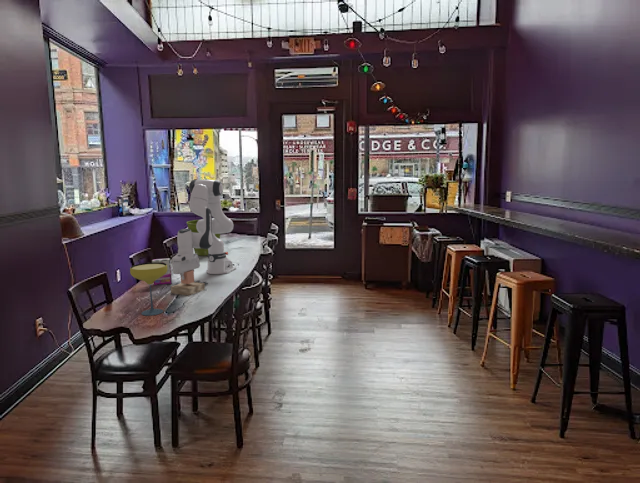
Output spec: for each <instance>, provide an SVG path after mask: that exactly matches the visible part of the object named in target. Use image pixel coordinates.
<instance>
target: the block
mask: <svg viewBox="0 0 640 483" xmlns="http://www.w3.org/2000/svg"><path fill="white" fill-rule="evenodd" d="M183 275H184V276H185V279H184V280H182V278H181V277H180V283H185V284H189V283H192V282H195V270H194V271H193V270H190V271H187V272H184V274H183Z"/></svg>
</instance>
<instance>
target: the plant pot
mask: <svg viewBox="0 0 640 483" xmlns="http://www.w3.org/2000/svg"><path fill="white" fill-rule="evenodd" d="M199 220H200V219H192V220H189V221H188V220H187V221H186V225H187V229H190V230H191V232H193V233H199V232H198V231H197V228H196V224H197V222H198V221H199ZM215 236H216V237H217V238H219V239H221V234H215ZM193 252H194V254H195V253H196V254H197V255H198V257H199V256H201V257H202V256H203V257H204V256H205V257H206V256H207V257H208V249H201V248H193Z"/></svg>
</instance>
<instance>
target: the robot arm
mask: <svg viewBox="0 0 640 483" xmlns="http://www.w3.org/2000/svg"><path fill="white" fill-rule="evenodd" d="M188 190H189V193H190V197H189V202H188V203H189V204H188V206H189V210H190V211H191V212H192V213H193V214H195V216H196V215H197V216H198V217H201V218H202V219H198V220H199V221H198V222H197V224H196V228H197V231H198V232H199V233H193V232H191V230H190V229H188V227H187V228H181V229H179V230H178V231H177V242H176V243H177V247H178V249H177V253H176V254H175V255H174V256H173V257H172V258H171V260H172V265H171V267H172V273H173V274H174V275H179V276H180V279H181V278H182V280H184V279H185V276H184V275H183V274H184V272H187V271H190V270H193V271H194V272H195V270H196V269H199V268H200V266H201V264H200V259H199V255H197V254H196V253H195V252H194V248H201V249H208V256H207V258H208V260H207V266H206V268H207V269H206V272H207V274H208V275H210V274H211V275H221V274H229V273H231V272H232V271H235V270H236V269H237V267H236V266H234V265H233V261H232V260H231V259H229V258H228V257H227V255H229V251H225V243H224V241H223V240H222V239H221V238H220V239H219V238H217V237H216V236H215V234H220V235H222V234H228V233H231V232H232V231H233V230H234V222H233V220H232V219H231V218H229V217H227V215H225V213H224V211H223V209H222V203H221V195H222V194H223V190H224V186H223V183H222V181H221V180H218V179H208V178H207V179H192V180H190V182H189V185H188Z"/></svg>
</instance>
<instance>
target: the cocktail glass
mask: <svg viewBox="0 0 640 483" xmlns="http://www.w3.org/2000/svg"><path fill="white" fill-rule="evenodd" d="M129 272H130V275H131V276H132V277H133V278H134V279H137V280H139V281H142V282H145V283H146V284H147V285H148V286H149V295H150V309H145V310H143V311H141V313H140V314H141V315H142V316H146V317H151V316H157V315H160V314H163V313H164V309H161V308H154V305H153V295H152V285H154V281H155V280H157V279H158V278H160V277H162V276H163V275H165V274H166V272H167V264H166V263H161V262H152V261H151V262H141V263H138V264H134V265H132V266H130V267H129Z"/></svg>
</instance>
